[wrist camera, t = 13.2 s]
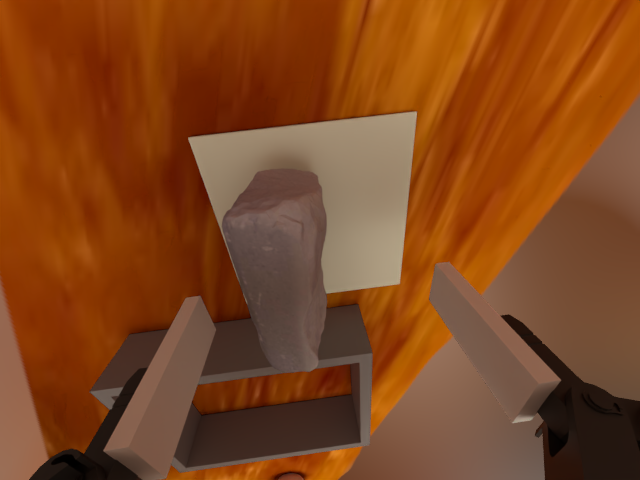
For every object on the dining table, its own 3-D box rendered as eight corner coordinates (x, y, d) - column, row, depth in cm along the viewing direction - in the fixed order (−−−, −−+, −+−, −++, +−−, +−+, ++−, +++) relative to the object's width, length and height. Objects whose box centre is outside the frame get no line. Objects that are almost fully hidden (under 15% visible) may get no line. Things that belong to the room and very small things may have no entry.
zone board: (247, 299, 25) (246, 303, 25) (191, 136, 17) (188, 137, 17) (397, 280, 26) (399, 284, 25) (413, 111, 17) (417, 111, 17)
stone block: (249, 159, 18) (206, 218, 9) (315, 154, 18) (333, 208, 9) (273, 283, 24) (261, 388, 15) (322, 278, 24) (337, 380, 15)
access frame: (196, 420, 37) (180, 472, 32) (129, 334, 26) (89, 391, 21) (359, 397, 38) (369, 445, 32) (358, 304, 27) (372, 352, 22)
